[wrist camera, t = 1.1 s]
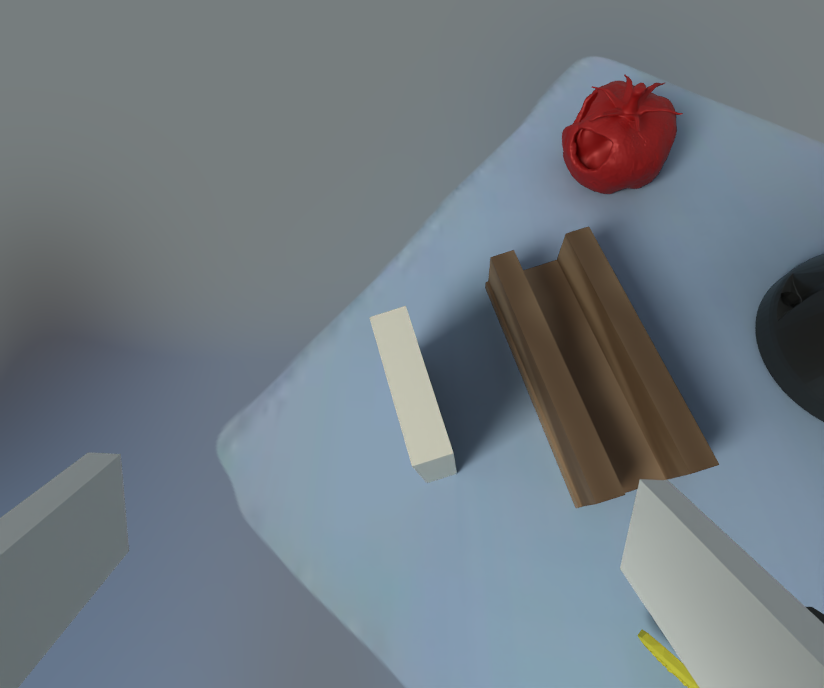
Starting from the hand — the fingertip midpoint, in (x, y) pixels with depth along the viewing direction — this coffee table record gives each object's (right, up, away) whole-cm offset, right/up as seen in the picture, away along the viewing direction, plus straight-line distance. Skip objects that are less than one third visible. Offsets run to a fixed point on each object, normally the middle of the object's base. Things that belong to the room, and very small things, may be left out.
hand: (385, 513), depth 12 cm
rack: (+15, +2, +27) cm, 31 cm away
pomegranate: (+20, +22, +35) cm, 46 cm away
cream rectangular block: (+2, -2, +27) cm, 27 cm away
